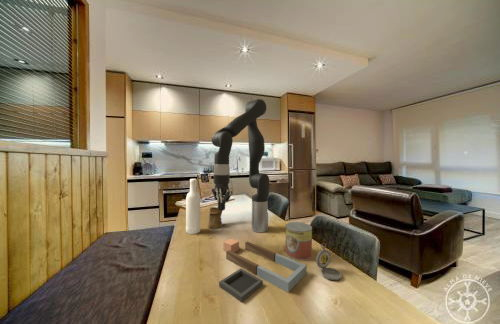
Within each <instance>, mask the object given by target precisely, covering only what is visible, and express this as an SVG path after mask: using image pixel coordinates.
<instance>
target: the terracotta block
mask: <svg viewBox="0 0 500 324" xmlns="http://www.w3.org/2000/svg"><path fill="white" fill-rule="evenodd" d="M228 250H229V251H231V252H233V253H236V252H238V251H240V241H239V240H237V239H234V238H230V239H227V240H224V241H223V251H224V252H226V251H228Z"/></svg>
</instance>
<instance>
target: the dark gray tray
mask: <svg viewBox="0 0 500 324" xmlns="http://www.w3.org/2000/svg"><path fill="white" fill-rule="evenodd" d="M263 280H264V279H262V278H260V277H259V276H257V275H255V274H253V273H251V272H249V271H248V270H246V269H244V268H238V269H237V270H236V271H234V272H232V273H231V274H230V275H228V276H226V277H224V278H223V279H221V280H219V282H218V284H219V285H218V286H219V288H221V289H222V290H224V291H225V292H227V294H230V295H231V296H232V297H233V298H235V299H236V300H237V301H239V302H240V303H242V302H243V301H245V300H246V299H248V297H250V296H251V295H252V294H253V293H255V292H256V291H257V290H258V289H259V288H260V287H262V286H263V285H264V284H263V283H264V282H263Z"/></svg>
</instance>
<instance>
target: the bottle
mask: <svg viewBox="0 0 500 324" xmlns="http://www.w3.org/2000/svg"><path fill="white" fill-rule="evenodd" d="M197 183H198V180H197V178H190V179H189V192H188V193H187V194H186V197H185V233H186V235H187V234H188V235H196V234H198V233H200V232H201V195H200V192H198V191H197Z"/></svg>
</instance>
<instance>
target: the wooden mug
mask: <svg viewBox="0 0 500 324" xmlns="http://www.w3.org/2000/svg"><path fill="white" fill-rule="evenodd" d="M223 199H224V198H223ZM208 214H209V216H208V222H207V228H208V229H215V230H216V229H221V227H223V222H222V214H223V211H221V210H218V206H213V207H209V213H208Z"/></svg>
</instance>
